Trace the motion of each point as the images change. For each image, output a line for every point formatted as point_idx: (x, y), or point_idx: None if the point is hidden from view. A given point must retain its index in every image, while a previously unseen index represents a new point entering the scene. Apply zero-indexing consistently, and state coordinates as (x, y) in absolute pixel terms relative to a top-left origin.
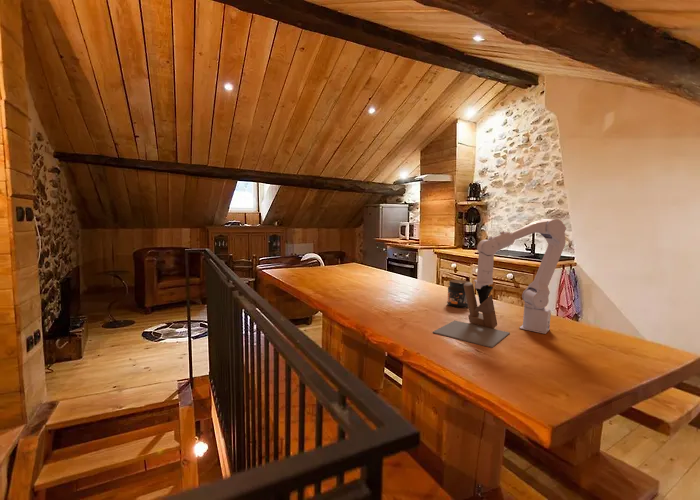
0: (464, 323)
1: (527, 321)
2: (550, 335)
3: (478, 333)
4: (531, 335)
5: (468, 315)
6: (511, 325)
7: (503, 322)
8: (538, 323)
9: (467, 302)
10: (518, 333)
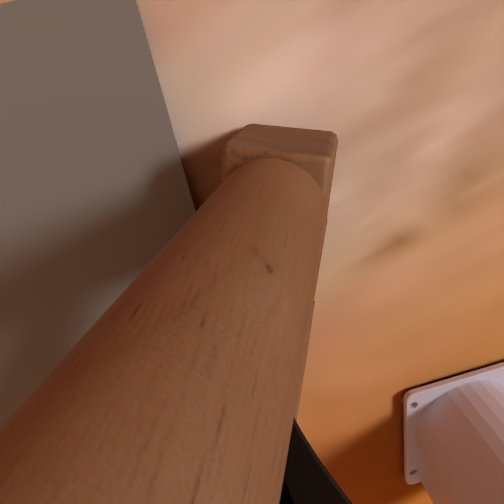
0: (137, 136)
1: (441, 464)
2: (405, 490)
3: (16, 372)
4: (331, 468)
5: (225, 148)
6: (445, 331)
7: (483, 267)
8: (445, 498)
9: (143, 271)
10: (308, 431)
